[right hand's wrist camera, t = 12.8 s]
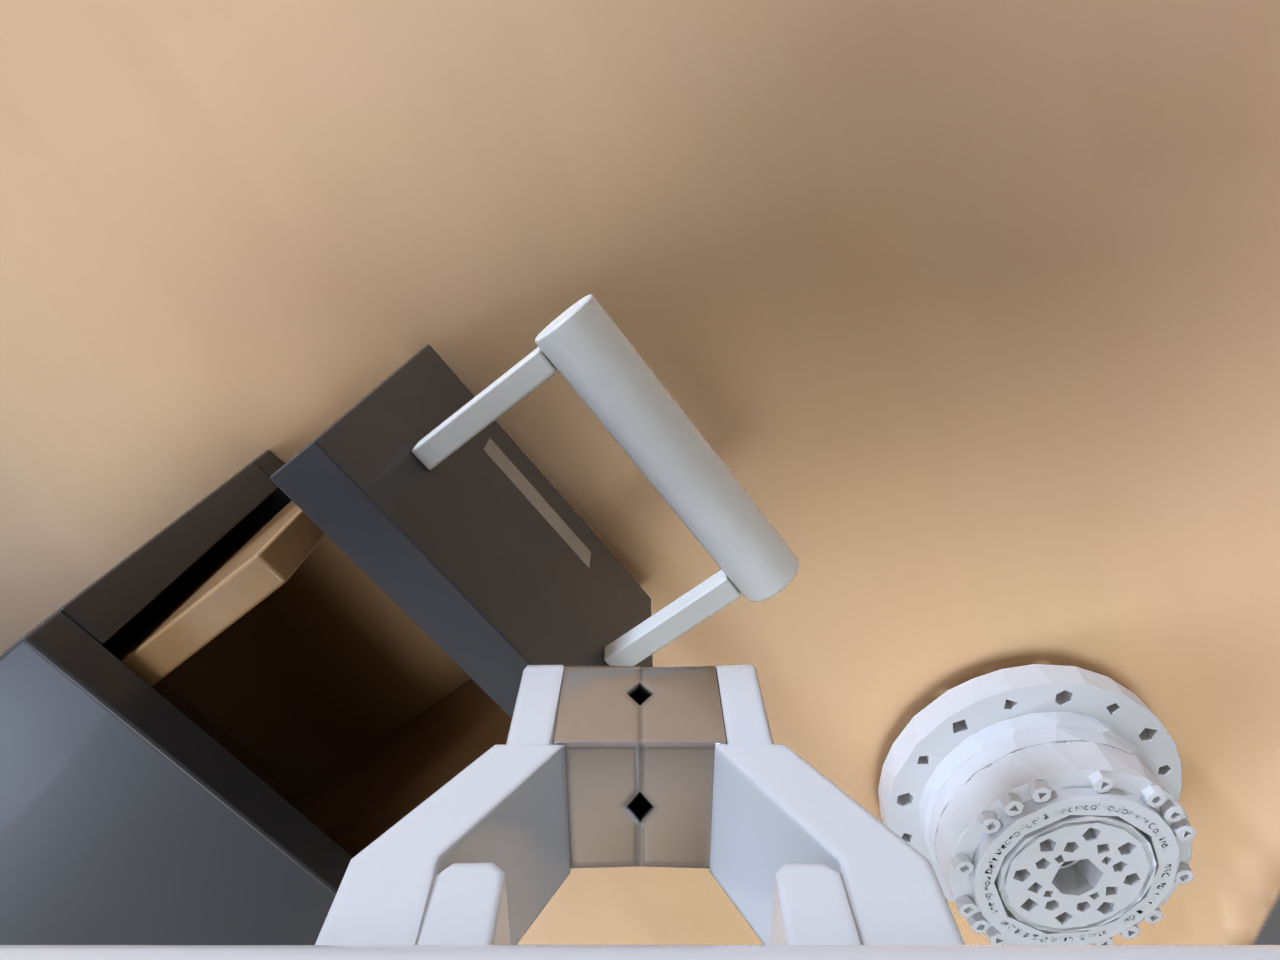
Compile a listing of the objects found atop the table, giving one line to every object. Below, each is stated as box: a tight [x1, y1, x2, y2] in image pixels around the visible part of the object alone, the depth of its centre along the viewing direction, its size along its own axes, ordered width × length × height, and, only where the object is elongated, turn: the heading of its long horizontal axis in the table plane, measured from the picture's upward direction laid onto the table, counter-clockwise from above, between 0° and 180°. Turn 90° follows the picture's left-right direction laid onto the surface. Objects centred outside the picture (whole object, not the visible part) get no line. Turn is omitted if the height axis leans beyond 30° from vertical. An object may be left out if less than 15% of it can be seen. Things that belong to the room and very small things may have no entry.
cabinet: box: [0, 450, 353, 945], centre depth 23 cm, size 16×11×10 cm
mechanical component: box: [878, 664, 1196, 945], centre depth 27 cm, size 10×4×10 cm
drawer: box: [108, 294, 799, 857], centre depth 21 cm, size 19×10×8 cm, turn 128°
